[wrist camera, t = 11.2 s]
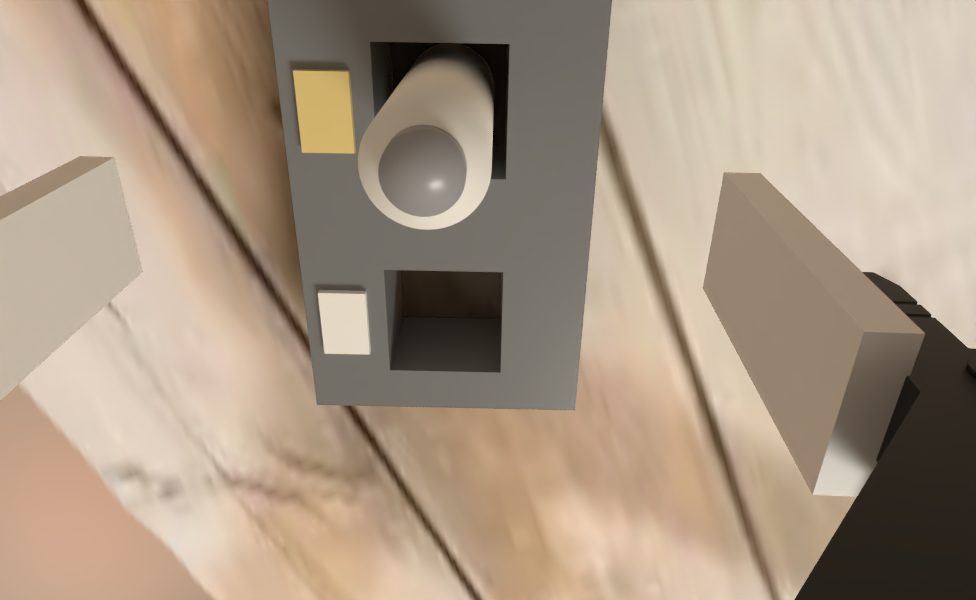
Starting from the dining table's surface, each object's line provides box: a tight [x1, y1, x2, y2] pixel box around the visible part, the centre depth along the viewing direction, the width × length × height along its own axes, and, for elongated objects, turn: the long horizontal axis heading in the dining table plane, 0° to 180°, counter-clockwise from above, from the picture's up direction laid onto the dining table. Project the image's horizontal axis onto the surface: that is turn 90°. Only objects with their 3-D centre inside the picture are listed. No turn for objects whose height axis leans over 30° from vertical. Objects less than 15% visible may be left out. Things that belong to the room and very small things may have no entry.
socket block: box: [268, 0, 612, 410], centre depth 30 cm, size 12×18×5 cm, turn 179°
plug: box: [358, 43, 494, 230], centre depth 24 cm, size 4×4×13 cm
